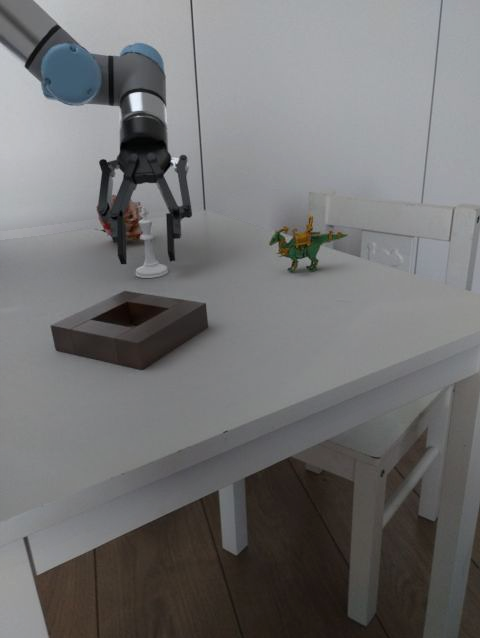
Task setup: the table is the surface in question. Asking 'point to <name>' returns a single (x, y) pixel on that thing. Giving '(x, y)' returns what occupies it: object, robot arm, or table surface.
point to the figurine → (303, 244)
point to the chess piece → (149, 251)
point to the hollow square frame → (130, 328)
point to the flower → (127, 220)
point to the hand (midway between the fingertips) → (146, 257)
